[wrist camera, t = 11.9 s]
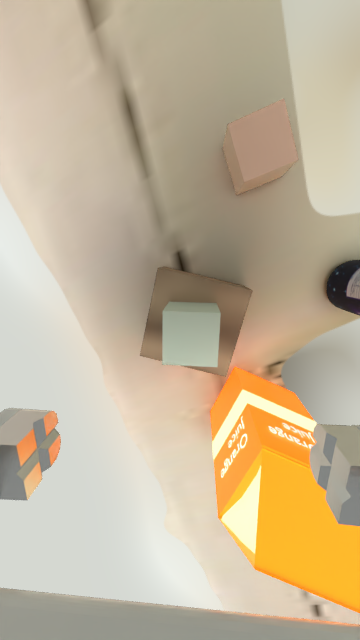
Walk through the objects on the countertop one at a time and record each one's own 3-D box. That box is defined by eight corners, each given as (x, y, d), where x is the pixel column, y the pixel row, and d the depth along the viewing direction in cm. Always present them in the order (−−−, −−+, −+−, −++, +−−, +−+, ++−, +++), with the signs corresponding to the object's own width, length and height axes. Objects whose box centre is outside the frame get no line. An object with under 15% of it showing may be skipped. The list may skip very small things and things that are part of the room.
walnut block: (164, 266, 30) (157, 268, 26) (243, 285, 30) (252, 290, 25) (148, 341, 33) (139, 355, 28) (221, 359, 33) (225, 376, 28)
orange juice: (234, 365, 32) (288, 522, 13) (295, 392, 33) (436, 585, 13) (209, 412, 34) (222, 610, 15) (266, 437, 35) (352, 663, 15)
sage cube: (169, 301, 26) (162, 311, 21) (216, 303, 26) (220, 313, 21) (168, 346, 27) (162, 364, 23) (214, 348, 27) (217, 367, 22)
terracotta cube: (222, 148, 27) (227, 124, 22) (268, 128, 26) (284, 98, 21) (236, 195, 28) (244, 182, 23) (280, 177, 27) (298, 159, 22)
